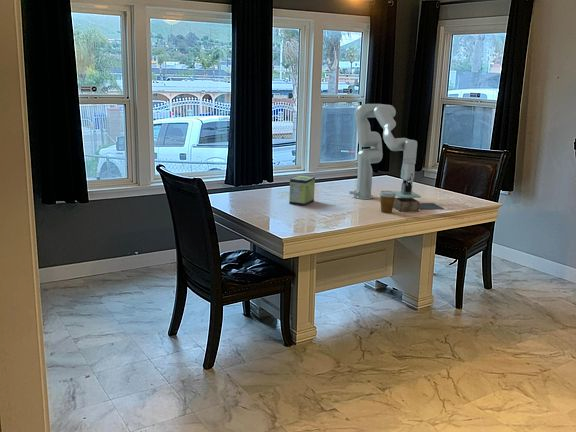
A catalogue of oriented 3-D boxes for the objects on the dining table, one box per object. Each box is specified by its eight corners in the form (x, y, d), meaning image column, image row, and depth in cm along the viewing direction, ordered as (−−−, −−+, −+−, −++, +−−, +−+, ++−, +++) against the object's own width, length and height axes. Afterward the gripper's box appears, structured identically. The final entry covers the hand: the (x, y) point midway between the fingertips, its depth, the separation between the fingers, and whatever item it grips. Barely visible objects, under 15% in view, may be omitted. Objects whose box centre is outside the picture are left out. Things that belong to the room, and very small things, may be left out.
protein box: (314, 201, 369) (315, 176, 365) (304, 206, 355) (305, 180, 352) (299, 199, 373) (299, 175, 369) (288, 203, 360) (289, 179, 356)
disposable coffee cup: (396, 211, 349) (397, 191, 346) (392, 214, 341) (393, 194, 338) (380, 209, 353) (382, 189, 350) (376, 212, 345) (377, 192, 342)
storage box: (399, 212, 348) (400, 202, 346) (392, 207, 359) (393, 197, 358) (418, 211, 350) (419, 201, 349) (410, 206, 361) (411, 197, 360)
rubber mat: (421, 209, 355) (421, 209, 355) (411, 203, 369) (411, 203, 369) (443, 209, 358) (444, 208, 358) (433, 203, 372) (433, 202, 372)
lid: (400, 198, 345) (401, 186, 343) (391, 193, 357) (392, 181, 356) (420, 197, 348) (421, 186, 346) (411, 192, 360) (412, 181, 358)
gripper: (397, 158, 354) (395, 188, 359) (408, 163, 339) (406, 194, 343) (409, 158, 356) (406, 188, 361) (421, 163, 340) (418, 194, 345)
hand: (406, 190), depth 352 cm, fingers closed on lid, 4 cm apart
